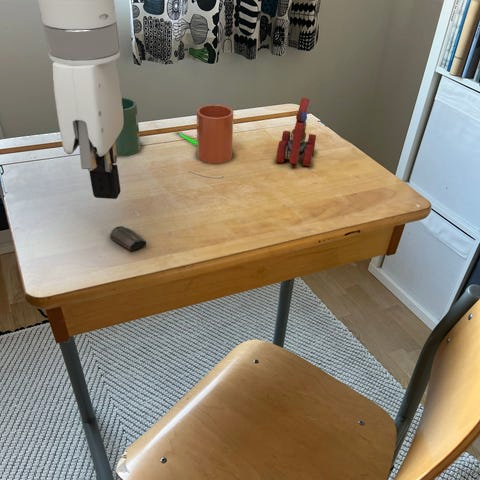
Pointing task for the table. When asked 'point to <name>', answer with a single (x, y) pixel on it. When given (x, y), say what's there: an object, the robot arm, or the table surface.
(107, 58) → the robot arm
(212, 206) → the table surface
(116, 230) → the block
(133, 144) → the green cup
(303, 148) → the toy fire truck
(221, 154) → the cup
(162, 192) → the table surface
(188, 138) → the green marker pen
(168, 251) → the table surface
